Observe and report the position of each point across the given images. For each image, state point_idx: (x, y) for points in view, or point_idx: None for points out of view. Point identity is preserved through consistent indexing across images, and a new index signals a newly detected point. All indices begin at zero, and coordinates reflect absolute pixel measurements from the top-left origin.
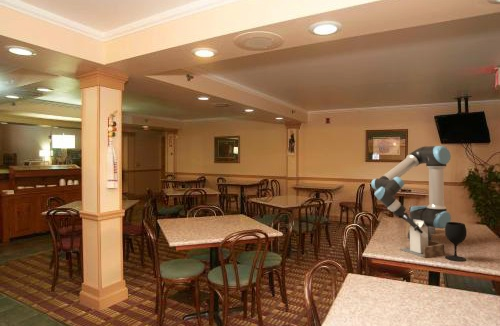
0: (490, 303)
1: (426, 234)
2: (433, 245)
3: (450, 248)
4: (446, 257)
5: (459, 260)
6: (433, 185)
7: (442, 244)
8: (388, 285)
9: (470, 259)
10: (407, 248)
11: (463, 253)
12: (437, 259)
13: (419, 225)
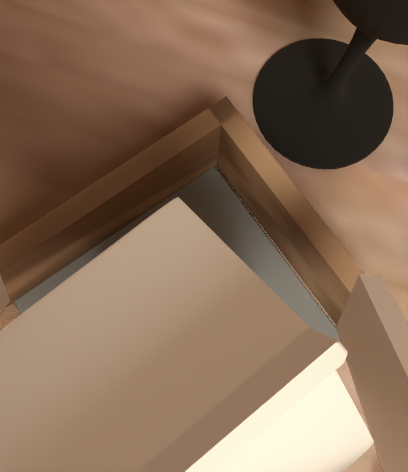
0: None
1: (386, 302)
2: (304, 222)
3: (32, 41)
4: (332, 161)
5: (388, 96)
6: None
7: (238, 117)
8: None
9: (315, 13)
10: None
11: (165, 2)
12: (378, 241)
13: (293, 460)
